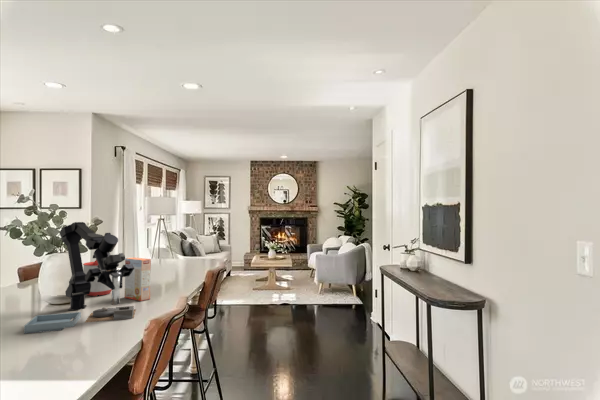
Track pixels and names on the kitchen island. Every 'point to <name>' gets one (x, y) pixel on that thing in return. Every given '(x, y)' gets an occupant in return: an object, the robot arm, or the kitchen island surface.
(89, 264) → the citrus juicer
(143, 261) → the cracker box
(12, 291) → the kitchen island surface
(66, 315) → the tray
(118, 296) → the lock pin
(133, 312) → the plate
